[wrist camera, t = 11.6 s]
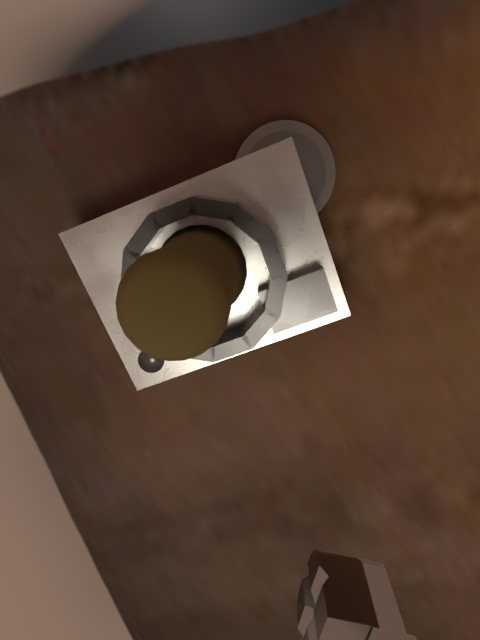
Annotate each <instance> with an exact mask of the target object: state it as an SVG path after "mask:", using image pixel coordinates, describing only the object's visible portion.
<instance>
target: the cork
mask: <svg viewBox="0 0 480 640" xmlns="http://www.w3.org/2000/svg"><path fill="white" fill-rule="evenodd" d="M246 278H247V269H246V260H245V258H244V255H243V253H242V250H241V248H240V246H239V245H238V244H237V243H236V242H235V240H234V239H233V238H232V237H231V236H230V235H228V234H227V233H225V232H224V231H222V230H220V229H219V228H215V227H212V226H208V225H191V226H187V227H185V228H182V229H180V230H178V231H176V232H175V233H173V234H172V235H171V236H170V237H169V238H168V239H167V240H166V241H165V242H164V244H163V245H162V247H161V248H159V249H157V250H155V251H152V252H150V253H147V254H145V255H142V256H141V257H139V258H138V259H137V260H136V261H135V262H134V263H133V264H132V265H130V266H129V267H128V268H127V270H126V272H125V274H124V276H123V277H122V279H121V281H120V283H119V286H118V291H117V297H116V302H115V305H116V312H117V318H118V322H119V324H120V326H121V328H122V330H123V332H124V334H125V336H126V337H127V338H128V339H129V340H130V341H131V342H132V343H133V344H134V346H135V347H136V348H137V349H139V350H141V351H142V352H144V353H146V354H148V355H149V356H151V357H154V358H158V359H162V360H166V361H182V360H187V359H190V358H193V357H196V356H198V355H201V354H203V353H204V352H206V351H207V350H208V349H209V348H211V347H212V346H213V345H214V344H216V343H217V342H218V340H219V339H220V337H221V335H222V334H223V332H224V331H225V329H226V327H227V323H228V319H229V315H230V311H231V305H232V304H233V303H234V302H236V300H237V299H238V297H239V296H240V294H241V292H242V291H243V289H244V285H245V281H246Z"/></svg>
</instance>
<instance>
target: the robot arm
mask: <svg viewBox="0 0 480 640" xmlns="http://www.w3.org/2000/svg"><path fill="white" fill-rule="evenodd" d="M308 571H309V575H307V576H306V577H304V578H303V579H302V582H301V585H300V589H299V593H298V600H297V626H298V629H299V631H300V632H301V634H302V635H303V637H304V638H303V640H417V639H416V638H415V636H412V635H408V634H407V633H406V630H405V627H404V624H403V621H402V618H401V615H400V612H399V609H398V606H397V603H396V600H395V597H394V594H393V591H392V588H391V585H390V582H389V579H388V576H387V573H386V569H385V567H384V565H383V564H382V563H381V562H376V561H370V560H365V559H360V558H359V559H357V558H353V557H348V556H343V555H338V554H332V553H327V552H322V551H317V550H314V551H313V552H312V553H311V555H310V558H309V561H308Z"/></svg>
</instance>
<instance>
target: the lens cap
mask: <svg viewBox="0 0 480 640" xmlns="http://www.w3.org/2000/svg"><path fill="white" fill-rule="evenodd" d="M290 137H292V139H293V142H294V145H295V148H296V151H297V154H298V157H299V160H300V163H301V166H302V169H303V172H304V175H305V178H306V181H307V184H308V187H309V190H310V193H311V196H312V199H313V202H314V205H315V208H316V211H317V214H318V213H319V212H320V211H321V210H322V209H323V207H324V206H325V205H326V203H327V202H328V200H329V198H330V196H331V194H332V191H333V188H334V184H335V177H336V168H335V161H334V157H333V154H332V151H331V149H330V147H329V145H328V143H327V142H326V140H325V139H324V138H323V137H322V136H321V134H320V133H319V132H317V131H316V130H315V129H313V128H312V127H310V126H308V125H307V124H304V123H302V122H298V121H294V120H278V121H273V122H270V123H267V124H265V125H263V126H261V127H259V128H258V129H256V130H255V131H254V132H252V133H251V134H250V135H249V136H248V137H247V139H246V140H245V141H244V142H243V144H242V145H241V147H240V149H239V151H238V153H237V155H236V158H235V160H237V159H239V158H242V157H244V156H247V155H249V154H251V153H254V152H256V151H258V150H261V149H263V148H266V147H268V146H270V145H273V144H275V143H278V142H280V141H282V140H285V139H287V138H290Z"/></svg>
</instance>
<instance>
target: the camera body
mask: <svg viewBox="0 0 480 640" xmlns="http://www.w3.org/2000/svg"><path fill="white" fill-rule="evenodd" d="M191 225H208V226H212V227H215V228H219V229H220V230H222V231H224V232H225V233H227V234H228V235H230V236H231V237H232V238H233V239H234V240H235V242H236V243H237V244H238V245H239V246H240V248H241V250H242V253H243V255H244V258H245V260H246V269H247V278H246V281H245V285H244V289H243V291H242V292H241V294H240V296H239V297H238V299H237V300H236V302H234V303H233V304H232V305H231V311H230V315H229V319H228V323H227V327H226V329H225V331H224V332H223V334H222V335H221V337H220V339H219V340H218V342H217V343H216V344H214V345H213V346H212V347H211V348H209V349H208V350H207V351H206V352H204V353H203V354H201V355H198V356H196V357H193V358H190V359H187V360H182V361H166V360H162V359H158V358H154V357H151V356H149V355H148V354H146V353H144V352H142V351H141V350H139V349H137V348H136V347H135V346H134V344H133V343H132V342H131V341H130V340H129V339H128V338H127V337H126V336H125V334H124V332H123V330H122V328H121V326H120V324H119V322H118V318H117V312H116V305H115V302H116V297H117V291H118V286H119V283H120V281H121V279H122V277H123V276H124V274H125V272H126V270H127V268H128V267H129V266H130V265H132V264H133V263H134V262H135V261H136V260H137V259H138V258H139V257H141V256H142V255H145V254H147V253H150V252H152V251H155V250H157V249H159V248H161V247H162V245H163V244H164V242H165V241H166V240H167V239H168V238H169V237H170V236H171V235H172V234H173V233H175V232H176V231H178V230H180V229H182V228H185V227H187V226H191ZM59 236H60V238H61V240H62V242H63V244H64V246H65V248H66V250H67V252H68V254H69V256H70V258H71V260H72V262H73V264H74V266H75V268H76V270H77V272H78V274H79V276H80V278H81V280H82V282H83V284H84V286H85V288H86V290H87V292H88V294H89V296H90V298H91V300H92V302H93V304H94V306H95V308H96V310H97V312H98V313H99V315H100V317H101V319H102V321H103V323H104V325H105V327H106V329H107V331H108V333H109V335H110V337H111V339H112V341H113V343H114V345H115V347H116V349H117V351H118V353H119V355H120V357H121V359H122V361H123V363H124V365H125V367H126V369H127V371H128V373H129V375H130V377H131V379H132V381H133V383H134V385H135V387H136V389H137V390H140V389H143V388H146V387H149V386H151V385H154V384H157V383H160V382H163V381H166V380H169V379H171V378H174V377H177V376H180V375H183V374H186V373H189V372H191V371H194V370H197V369H200V368H203V367H206V366H209V365H211V364H214V363H217V362H220V361H223V360H226V359H228V358H231V357H234V356H237V355H240V354H243V353H246V352H248V351H251V350H254V349H257V348H260V347H263V346H266V345H268V344H271V343H274V342H277V341H280V340H283V339H286V338H288V337H291V336H294V335H297V334H300V333H303V332H306V331H308V330H311V329H314V328H317V327H320V326H323V325H326V324H328V323H331V322H334V321H337V320H340V319H343V318H346V317H348V316H351V314H350V311H349V308H348V305H347V302H346V299H345V296H344V293H343V290H342V287H341V284H340V281H339V278H338V275H337V272H336V269H335V266H334V263H333V260H332V257H331V253H330V250H329V247H328V244H327V241H326V238H325V235H324V232H323V229H322V226H321V223H320V220H319V217H318V214H317V211H316V208H315V205H314V202H313V199H312V196H311V193H310V190H309V187H308V184H307V181H306V178H305V175H304V172H303V169H302V166H301V163H300V160H299V157H298V154H297V151H296V148H295V145H294V142H293V139H292V137H290V138H287V139H285V140H282V141H280V142H278V143H275V144H273V145H270V146H268V147H266V148H263V149H261V150H258V151H256V152H254V153H251V154H249V155H247V156H244V157H242V158H239V159H237V160H235V161H232V162H230V163H227V164H225V165H223V166H220V167H218V168H215V169H213V170H211V171H208V172H206V173H203V174H201V175H199V176H196V177H194V178H191V179H189V180H187V181H184V182H182V183H179V184H177V185H175V186H172V187H170V188H167V189H165V190H163V191H160V192H158V193H155V194H153V195H151V196H148V197H146V198H143V199H141V200H139V201H136V202H134V203H131V204H129V205H127V206H124V207H122V208H119V209H117V210H115V211H112V212H110V213H107V214H105V215H103V216H100V217H98V218H95V219H93V220H91V221H88V222H86V223H83V224H81V225H79V226H76V227H74V228H71V229H69V230H67V231H64V232H62V233H60V234H59Z"/></svg>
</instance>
